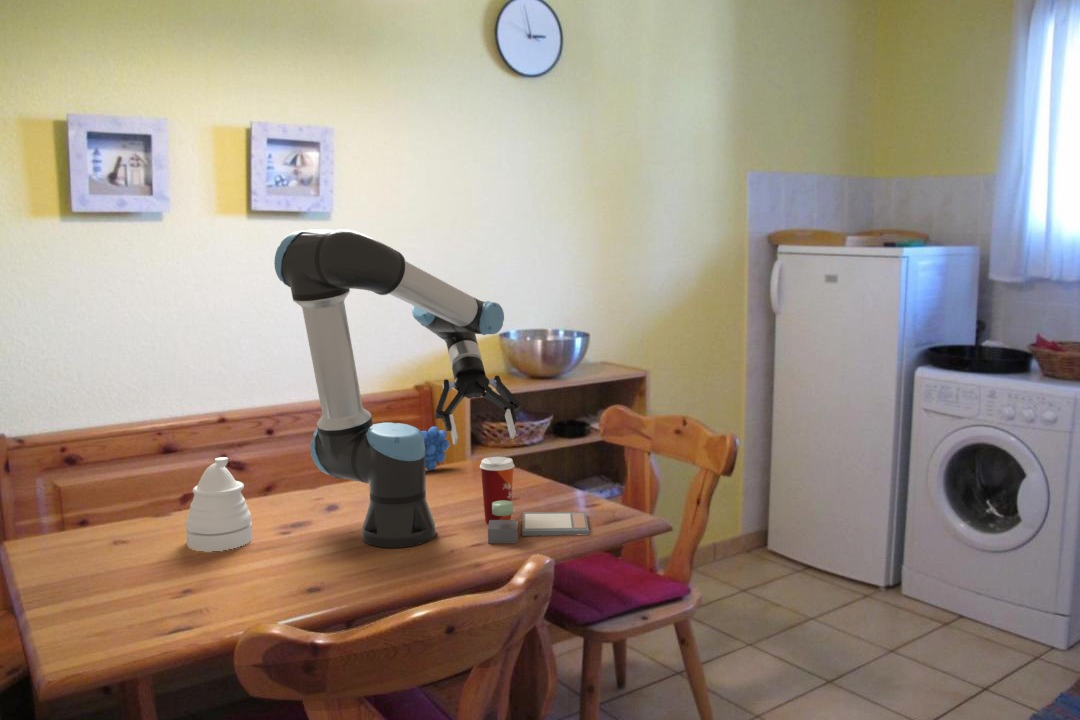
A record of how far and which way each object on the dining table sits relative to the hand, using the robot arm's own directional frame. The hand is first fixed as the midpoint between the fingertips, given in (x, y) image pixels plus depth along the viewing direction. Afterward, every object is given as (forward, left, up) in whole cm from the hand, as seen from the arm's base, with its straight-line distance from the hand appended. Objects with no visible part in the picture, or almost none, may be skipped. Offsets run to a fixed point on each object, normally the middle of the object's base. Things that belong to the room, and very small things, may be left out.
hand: (484, 438), depth 206 cm
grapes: (-17, +37, -17) cm, 44 cm away
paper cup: (+3, -9, -17) cm, 20 cm away
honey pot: (-54, -20, -17) cm, 60 cm away
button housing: (+5, -20, -17) cm, 27 cm away
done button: (+5, -20, -11) cm, 24 cm away
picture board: (+16, -12, -17) cm, 26 cm away
